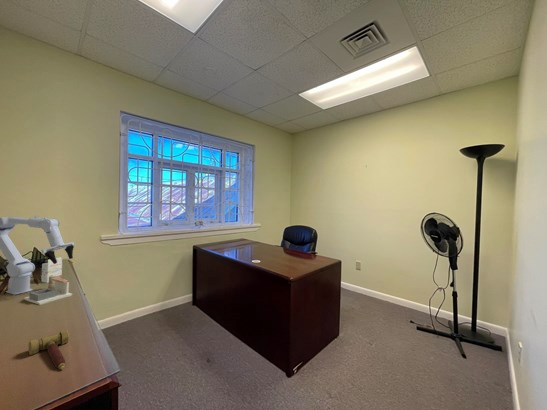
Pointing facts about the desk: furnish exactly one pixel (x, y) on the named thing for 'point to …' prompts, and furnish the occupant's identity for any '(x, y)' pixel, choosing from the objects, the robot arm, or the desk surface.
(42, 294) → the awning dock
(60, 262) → the ink cartridge box
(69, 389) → the desk surface
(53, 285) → the maple peg
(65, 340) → the gavel
